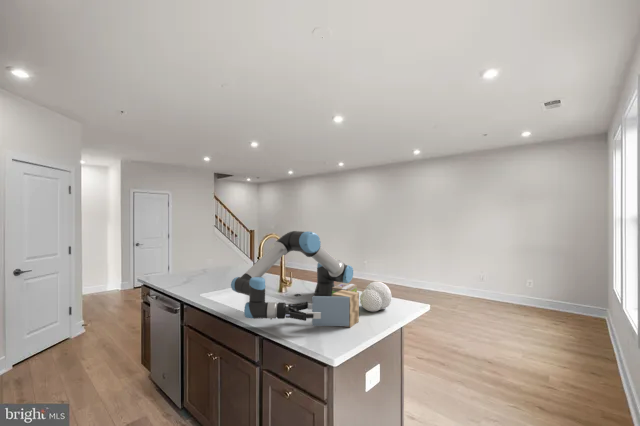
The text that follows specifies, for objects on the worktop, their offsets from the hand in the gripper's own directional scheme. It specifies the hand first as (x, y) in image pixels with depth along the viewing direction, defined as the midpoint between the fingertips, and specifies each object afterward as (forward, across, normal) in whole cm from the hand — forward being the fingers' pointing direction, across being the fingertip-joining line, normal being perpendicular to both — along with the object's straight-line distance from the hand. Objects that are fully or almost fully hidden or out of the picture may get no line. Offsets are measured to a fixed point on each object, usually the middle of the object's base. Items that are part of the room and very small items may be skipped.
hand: (320, 310), depth 147 cm
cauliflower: (+33, -29, -8) cm, 44 cm away
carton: (+13, -7, -8) cm, 17 cm away
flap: (+5, 0, -7) cm, 9 cm away
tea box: (+14, -25, -8) cm, 30 cm away
